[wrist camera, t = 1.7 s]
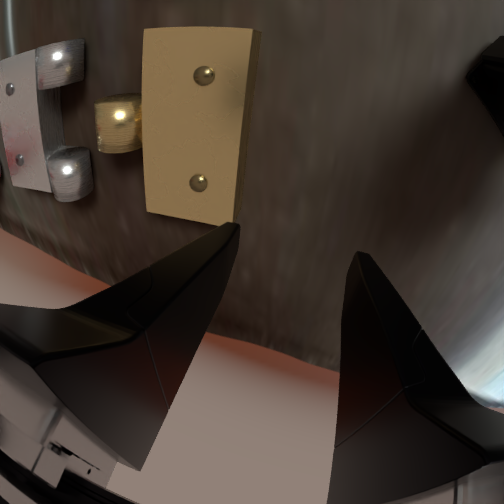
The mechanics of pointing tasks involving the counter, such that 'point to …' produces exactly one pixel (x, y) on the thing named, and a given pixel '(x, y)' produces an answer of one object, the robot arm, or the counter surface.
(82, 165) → the steel leaf
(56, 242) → the counter surface
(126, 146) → the brass leaf
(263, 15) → the counter surface
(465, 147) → the counter surface
